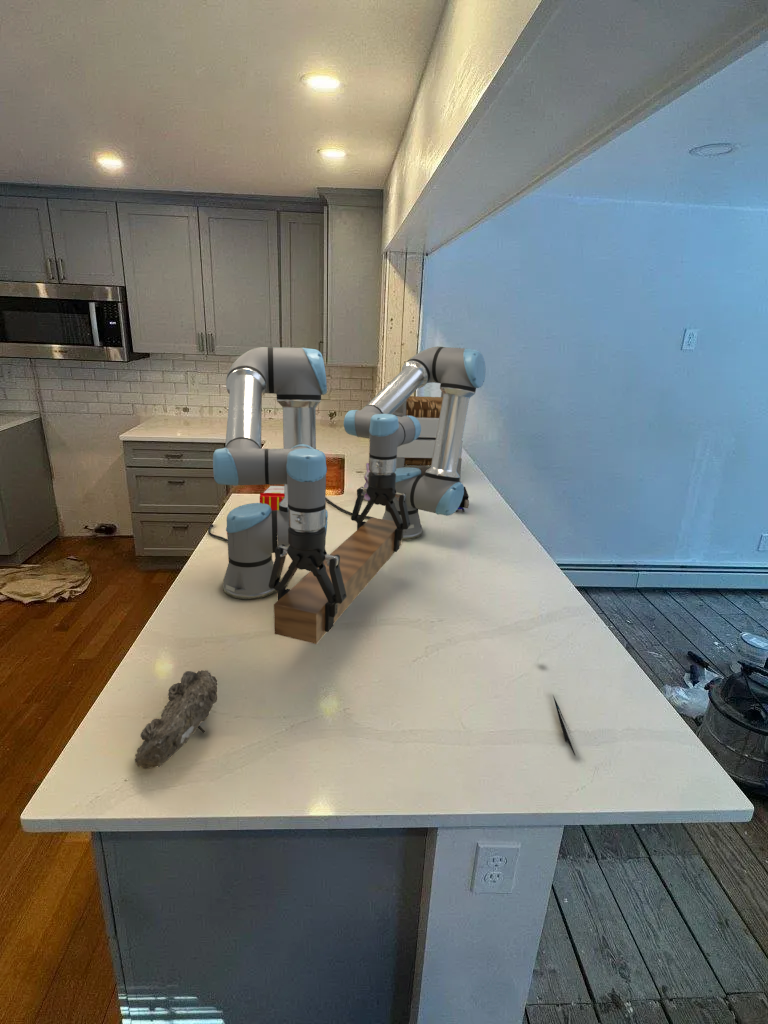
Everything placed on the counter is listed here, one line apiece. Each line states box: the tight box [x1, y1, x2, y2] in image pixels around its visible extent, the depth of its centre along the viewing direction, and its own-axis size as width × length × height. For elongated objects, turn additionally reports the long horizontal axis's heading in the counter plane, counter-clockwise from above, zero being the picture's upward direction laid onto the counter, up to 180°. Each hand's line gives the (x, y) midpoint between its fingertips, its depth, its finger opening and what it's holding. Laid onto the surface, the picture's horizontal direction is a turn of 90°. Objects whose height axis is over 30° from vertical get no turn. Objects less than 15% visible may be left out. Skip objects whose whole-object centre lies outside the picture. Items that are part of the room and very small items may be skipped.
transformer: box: [392, 391, 464, 482], centre depth 268 cm, size 34×33×41 cm
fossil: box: [134, 669, 218, 770], centre depth 103 cm, size 22×10×15 cm
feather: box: [552, 695, 579, 756], centre depth 115 cm, size 2×28×2 cm
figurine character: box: [455, 486, 470, 513], centre depth 227 cm, size 7×8×15 cm
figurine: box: [363, 462, 370, 502], centre depth 233 cm, size 9×10×15 cm
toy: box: [259, 485, 284, 510], centre depth 208 cm, size 12×13×30 cm
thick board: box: [273, 516, 402, 645], centre depth 141 cm, size 57×10×7 cm, turn 161°
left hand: (307, 623), depth 121 cm, fingers closed on thick board, 10 cm apart
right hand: (379, 547), depth 162 cm, fingers closed on thick board, 10 cm apart
